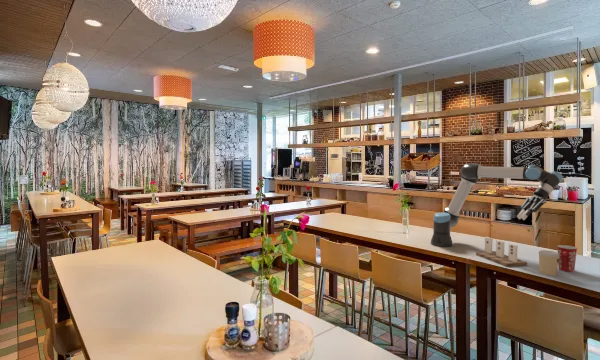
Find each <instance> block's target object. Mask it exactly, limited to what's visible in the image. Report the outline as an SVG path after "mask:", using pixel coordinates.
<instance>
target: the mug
mask: <svg viewBox="0 0 600 360" xmlns="http://www.w3.org/2000/svg"><path fill="white" fill-rule="evenodd" d="M556 248H557V253H559V261H558V270H559V271H563V272H567V273H573V272H575V268H576V261H577V260H576V259H577V253H578V252H577V251H578V248H577V247H576V246H572V245H565V244H563V245H562V244H561V245H560V244H559V245H557V247H556Z"/></svg>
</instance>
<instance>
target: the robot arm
mask: <svg viewBox="0 0 600 360" xmlns="http://www.w3.org/2000/svg"><path fill="white" fill-rule="evenodd" d="M460 174H461V175H460V179H461V181H460V182H459V185H458V187H457V188H456V190H455V192H454V193H453V196H452V198H451V200H450V202H449V204H448V207H445V208H444V210H443V211H442V212H435V213H434V215H433V219H432V221H433V231H432V232H433V234H432V235H431V236H432V237H431V240H430V244H431V245H432V246H435V247H442V248H443V247H445V248H448V247H452V246H453V240H452V237H451V229H452V228H454V227H455V226H456V225H458V223H459V218H460V211H461V209H462V207H463V206H464V203H465V201H466V199H467V198H468V195H469V193H470V192H471V190H472V188H473V186H474V185H476V184H477V182H478V181H479V179H481V178H489V179H491V178H493V179H518V180H531V181H533V180H534V181H535V180H537V181H539V182H540V184H539V186H538V187H537V188H536V189H535V190H534V191H533V195H532V196H530V197H529V196H526V198H525V200H524V202H523V203H522V204H521V206H520V209H521V210H520V211H519V213H518V214H517V215H516V218H517V219H518V220H521V219H522V220H523V221H525V220H526V219H527V218H528V217H529V216H530V215H532V213H537V212H538V210H540V208H542V207H543V205H545V204H546V203H547V200H546V199H548V197H549V195H551V194H552V192H554V190H555V189H556V188H557V187H558V185H559V184H560V183H561V181H562V180H563V179H564V177H563V175H562V173H560V172H558V171H555V170H553V171H551V172H549V171H547V170H545V169H543V168H541V167H540V166H538V165H535V164H530V165H529V166H528V167H524V166H523V167H522V166H521V167H520V166H482V165H481V164H479V163H477V162H469V163H464V165H463V166H461V168H460Z"/></svg>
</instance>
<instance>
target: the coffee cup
mask: <svg viewBox="0 0 600 360" xmlns="http://www.w3.org/2000/svg"><path fill="white" fill-rule="evenodd" d="M558 261H559V253H558V251H553V250H546V249H545V250H544V249H543V250H539V251H538V263H539V264H538V265H539V273H540V274H541V275H544V276H551V277H555V276H557V274H558V270H559V268H558Z"/></svg>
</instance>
